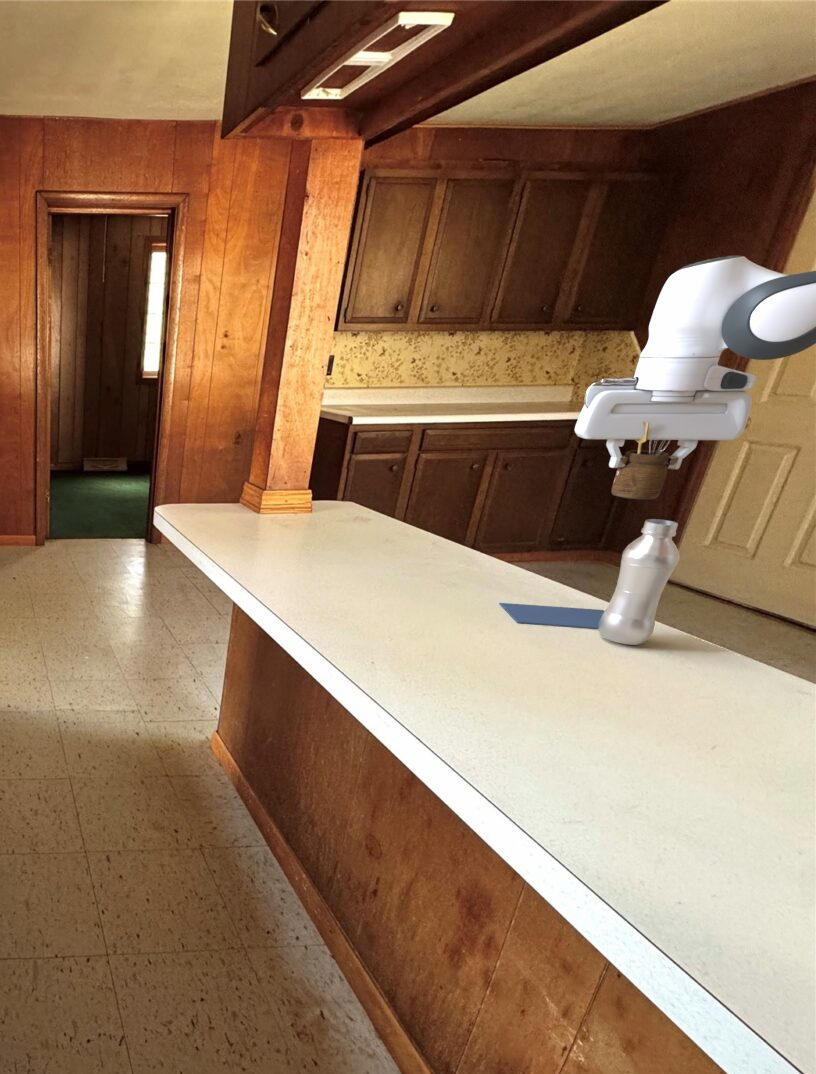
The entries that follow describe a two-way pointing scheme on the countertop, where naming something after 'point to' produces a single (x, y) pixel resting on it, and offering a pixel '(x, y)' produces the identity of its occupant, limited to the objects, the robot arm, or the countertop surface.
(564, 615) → the mat
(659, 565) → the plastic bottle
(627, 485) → the utensil holder
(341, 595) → the countertop surface
